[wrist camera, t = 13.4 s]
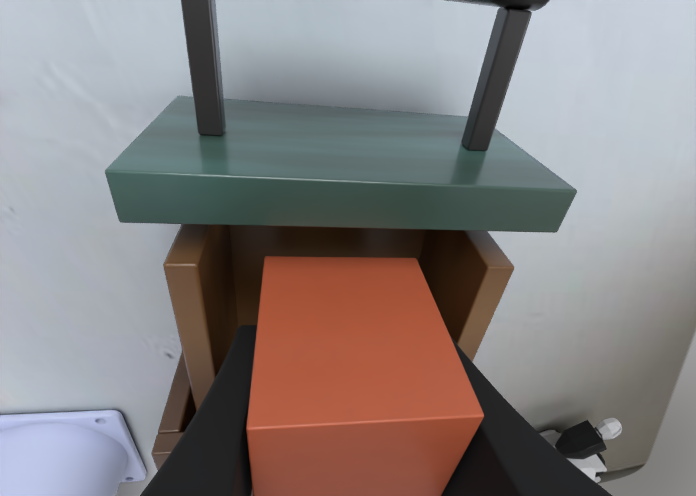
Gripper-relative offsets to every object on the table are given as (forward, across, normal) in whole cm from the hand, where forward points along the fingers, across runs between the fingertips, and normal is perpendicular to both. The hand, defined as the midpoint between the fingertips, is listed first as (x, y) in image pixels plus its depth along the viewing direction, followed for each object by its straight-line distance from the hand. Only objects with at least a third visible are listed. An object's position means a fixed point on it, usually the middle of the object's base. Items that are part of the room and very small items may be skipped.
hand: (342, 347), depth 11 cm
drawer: (+6, 0, -1) cm, 6 cm away
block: (+1, 0, 0) cm, 1 cm away
